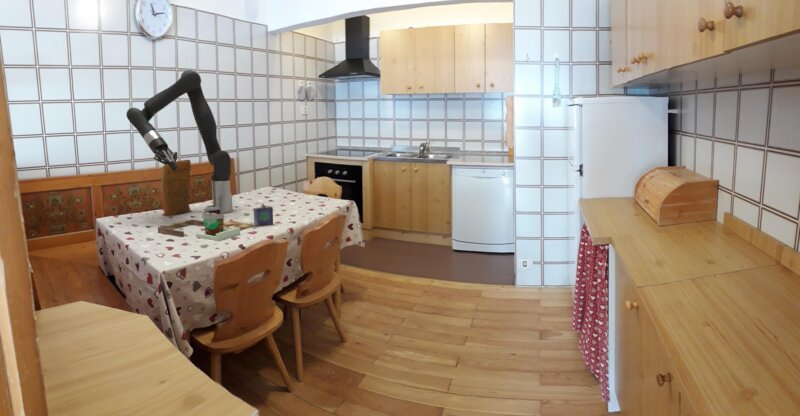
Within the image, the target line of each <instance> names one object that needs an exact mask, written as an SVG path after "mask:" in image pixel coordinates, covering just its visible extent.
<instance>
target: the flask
mask: <svg viewBox="0 0 800 416" xmlns="http://www.w3.org/2000/svg"><path fill="white" fill-rule="evenodd" d="M264 203H265V202H264ZM264 203H261V206H258V207H254V208H253V224H254V226H253V227H263V226H272V225H274V213H273V209H274V208H273V206H271V205H265V204H264Z"/></svg>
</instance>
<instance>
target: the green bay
mask: <svg viewBox="0 0 800 416" xmlns="http://www.w3.org/2000/svg"><path fill="white" fill-rule="evenodd" d="M239 235H241V230H240V228H235V229H231V230H230V229H225V228H223V232H220V233H217V234H216V236H211V235H206V233H199V232H196V233H195V237H197V238H199V239H200V238H201V239H204V240H211V241H216V242H219V241H223V240H226V239H229V238H232V237H235V236H236V237H237V236H239Z"/></svg>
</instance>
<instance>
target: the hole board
mask: <svg viewBox="0 0 800 416" xmlns="http://www.w3.org/2000/svg"><path fill="white" fill-rule="evenodd" d="M252 227H255V226H254V223H247V222H243V221H242V222H241V221H235V220H230V221H227V222H223V228H225V229H230V230H231V229H235V228H240V231H243V230H246V229H249V228H252Z"/></svg>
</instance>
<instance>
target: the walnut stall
mask: <svg viewBox="0 0 800 416" xmlns="http://www.w3.org/2000/svg"><path fill="white" fill-rule="evenodd" d="M188 226H199V227H204V228H205V226H204V220H197V219H188V220H185V221H184V220H183V221H179V222H175V223H173V224H172V223H171V224H168V225H167V224H166V225H163V226H159V227H157V233H160V234H164V235H170V236H174V237H175V236H176V237H182V238H183V237H185V231H184V230H178V229H180V228H184V227H188Z"/></svg>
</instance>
